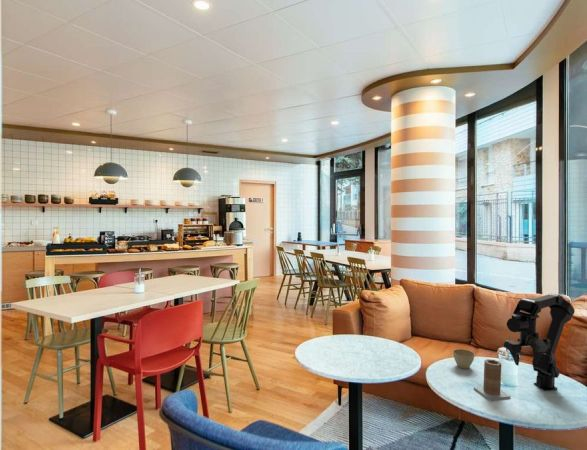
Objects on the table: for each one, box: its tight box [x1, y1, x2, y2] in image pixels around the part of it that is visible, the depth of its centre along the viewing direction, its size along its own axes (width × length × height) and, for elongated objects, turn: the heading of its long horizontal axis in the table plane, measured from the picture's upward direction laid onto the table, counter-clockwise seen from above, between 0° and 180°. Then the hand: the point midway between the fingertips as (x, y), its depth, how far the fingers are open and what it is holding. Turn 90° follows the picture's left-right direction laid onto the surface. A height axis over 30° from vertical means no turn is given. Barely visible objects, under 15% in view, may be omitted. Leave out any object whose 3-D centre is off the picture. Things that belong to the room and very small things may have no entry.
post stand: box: [473, 385, 511, 401], centre depth 168 cm, size 10×10×5 cm
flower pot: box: [452, 348, 476, 370], centre depth 195 cm, size 10×10×7 cm
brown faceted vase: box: [483, 358, 502, 395], centre depth 168 cm, size 6×6×13 cm
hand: (526, 364), depth 167 cm, fingers open, 9 cm apart
